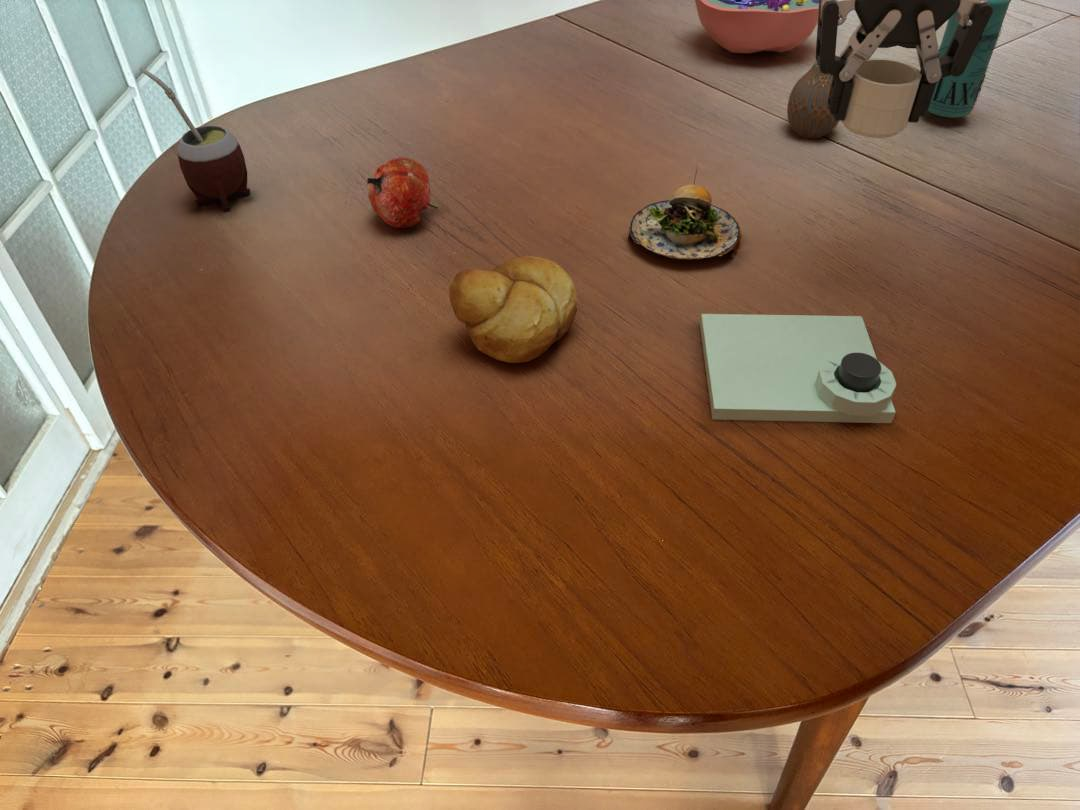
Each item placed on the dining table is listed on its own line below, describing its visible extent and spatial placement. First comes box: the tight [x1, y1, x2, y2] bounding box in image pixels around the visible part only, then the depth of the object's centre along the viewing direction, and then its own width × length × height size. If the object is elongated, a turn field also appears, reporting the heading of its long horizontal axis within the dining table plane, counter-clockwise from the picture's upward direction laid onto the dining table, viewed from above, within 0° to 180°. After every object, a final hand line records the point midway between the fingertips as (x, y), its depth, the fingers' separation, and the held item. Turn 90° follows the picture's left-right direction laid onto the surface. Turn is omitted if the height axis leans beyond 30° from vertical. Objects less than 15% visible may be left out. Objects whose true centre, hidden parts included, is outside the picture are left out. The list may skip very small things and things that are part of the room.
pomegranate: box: [366, 157, 439, 229], centre depth 95 cm, size 7×7×10 cm
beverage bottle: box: [927, 0, 1012, 118], centre depth 106 cm, size 6×7×20 cm
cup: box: [841, 57, 922, 139], centre depth 77 cm, size 6×6×5 cm
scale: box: [699, 313, 897, 424], centre depth 76 cm, size 15×14×3 cm
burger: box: [627, 168, 742, 261], centre depth 90 cm, size 12×12×8 cm
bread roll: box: [448, 255, 579, 364], centre depth 79 cm, size 13×10×8 cm
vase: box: [786, 60, 840, 139], centre depth 108 cm, size 7×7×9 cm
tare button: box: [837, 353, 881, 393], centre depth 72 cm, size 3×3×2 cm
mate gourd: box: [139, 67, 251, 213], centre depth 96 cm, size 8×8×15 cm
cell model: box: [694, 0, 819, 54], centre depth 126 cm, size 17×20×11 cm
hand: (874, 117), depth 78 cm, fingers closed on cup, 6 cm apart
